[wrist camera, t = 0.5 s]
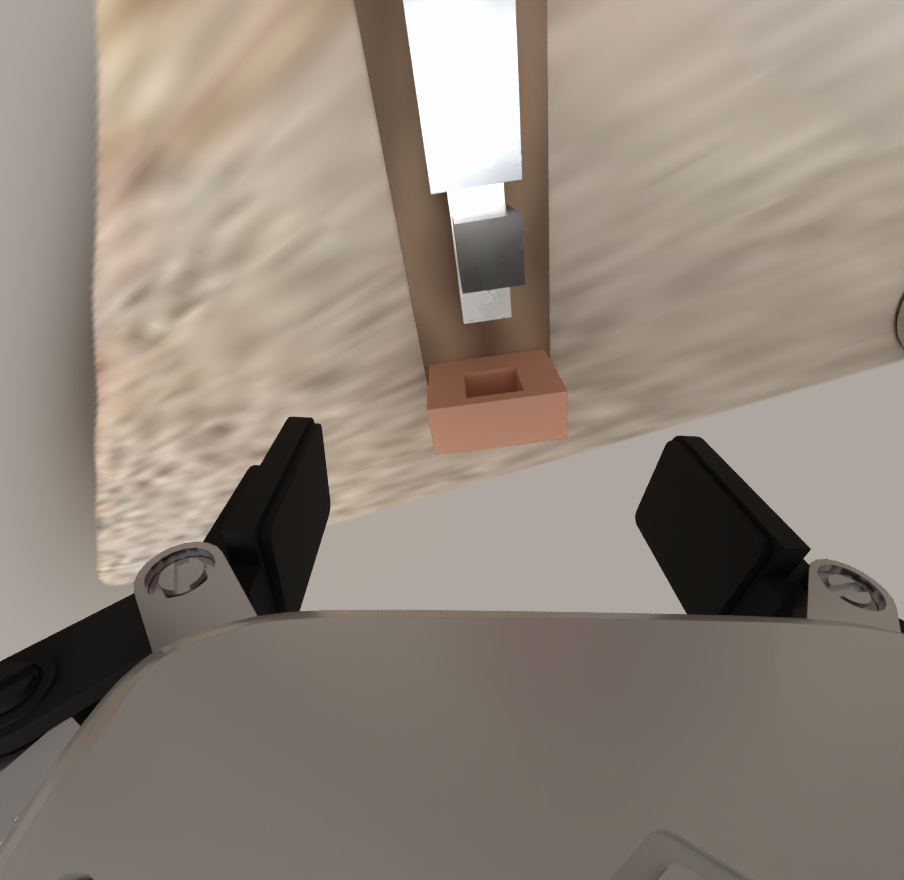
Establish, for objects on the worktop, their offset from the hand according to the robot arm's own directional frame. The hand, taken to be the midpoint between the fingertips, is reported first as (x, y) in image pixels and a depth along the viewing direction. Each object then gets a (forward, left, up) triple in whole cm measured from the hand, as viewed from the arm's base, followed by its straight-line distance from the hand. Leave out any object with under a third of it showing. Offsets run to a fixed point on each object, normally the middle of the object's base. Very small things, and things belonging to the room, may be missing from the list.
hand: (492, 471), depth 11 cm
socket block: (-1, +9, -25) cm, 27 cm away
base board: (-1, -4, -26) cm, 27 cm away
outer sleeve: (-1, -12, -25) cm, 28 cm away
